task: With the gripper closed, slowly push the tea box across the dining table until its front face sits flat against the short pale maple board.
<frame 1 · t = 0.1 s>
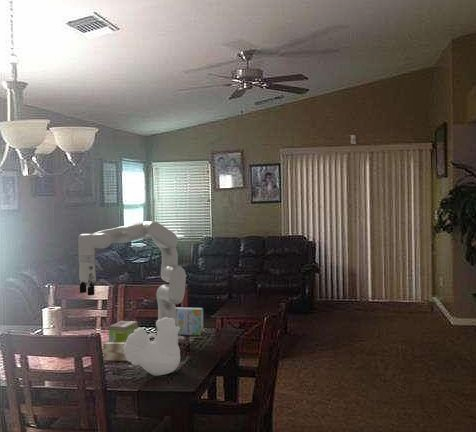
hand: (87, 293, 284), 31 cm above the table, tool pointing down, fingers open, 9 cm apart
decorative rooster: (152, 373, 257), on the table
maple board: (116, 359, 280), on the table
tea box: (123, 352, 294), on the table
snack box: (184, 334, 334), on the table
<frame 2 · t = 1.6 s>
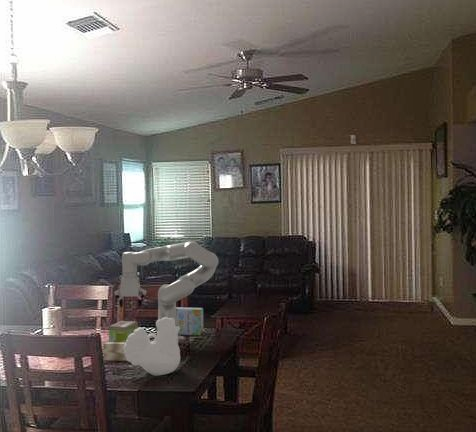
hand: (130, 306, 309), 20 cm above the table, tool pointing down, fingers open, 9 cm apart
nothing on the table moved.
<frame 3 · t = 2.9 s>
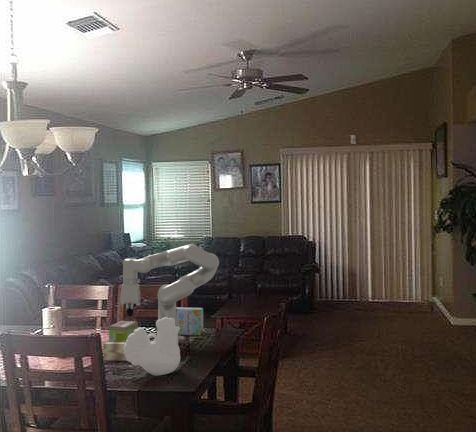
hand: (130, 315, 309), 15 cm above the table, tool pointing down, fingers closed
nothing on the table moved.
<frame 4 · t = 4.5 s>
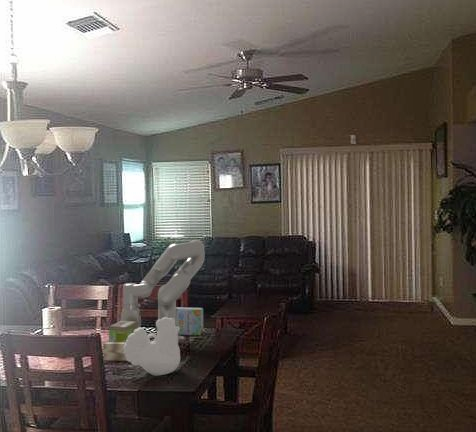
hand: (130, 340, 309), 2 cm above the table, tool pointing down, fingers closed
nothing on the table moved.
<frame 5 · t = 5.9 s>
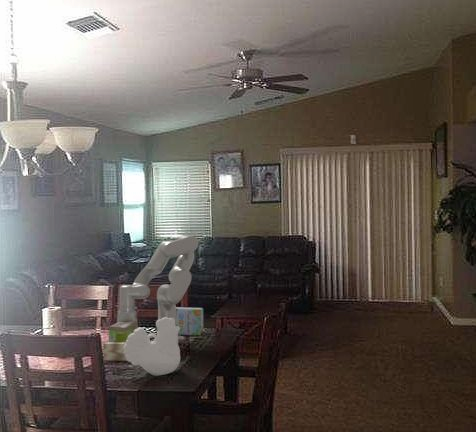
hand: (127, 344, 302), 2 cm above the table, tool pointing down, fingers closed
tea box: (123, 353, 293), on the table, touching gripper
everything else where it was.
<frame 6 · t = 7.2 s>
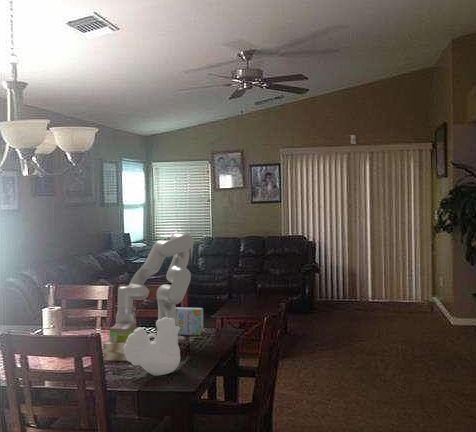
hand: (125, 345, 298), 2 cm above the table, tool pointing down, fingers closed
tea box: (123, 355, 289), on the table, touching gripper
everything else where it was.
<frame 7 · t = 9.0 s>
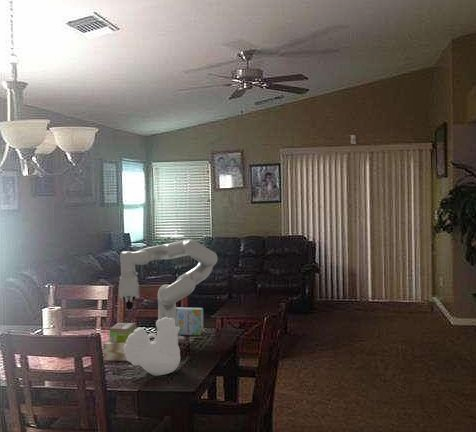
hand: (129, 309, 307), 19 cm above the table, tool pointing down, fingers closed
tea box: (123, 355, 289), on the table
everything else where it was.
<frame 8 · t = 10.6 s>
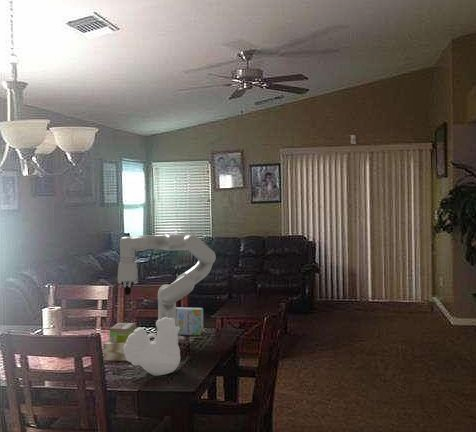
hand: (127, 294, 307), 27 cm above the table, tool pointing down, fingers closed
nothing on the table moved.
at the end: tea box 0.9 cm from the target spot on the table beside the maple board, on the table; tea box tilted 0° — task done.
